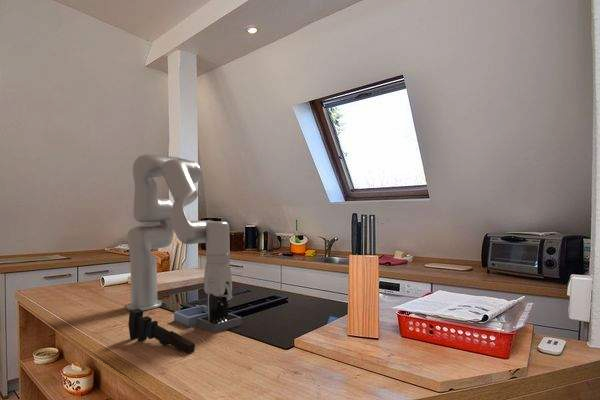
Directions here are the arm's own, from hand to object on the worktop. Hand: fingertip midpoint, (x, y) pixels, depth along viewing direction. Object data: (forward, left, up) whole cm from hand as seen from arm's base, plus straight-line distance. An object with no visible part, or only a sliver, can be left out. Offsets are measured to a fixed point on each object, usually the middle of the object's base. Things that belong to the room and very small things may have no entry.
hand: (219, 315), depth 120 cm
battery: (0, 0, -3) cm, 3 cm away
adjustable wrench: (+2, -20, -4) cm, 21 cm away
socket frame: (0, 0, -3) cm, 3 cm away
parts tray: (-11, -2, -3) cm, 12 cm away
